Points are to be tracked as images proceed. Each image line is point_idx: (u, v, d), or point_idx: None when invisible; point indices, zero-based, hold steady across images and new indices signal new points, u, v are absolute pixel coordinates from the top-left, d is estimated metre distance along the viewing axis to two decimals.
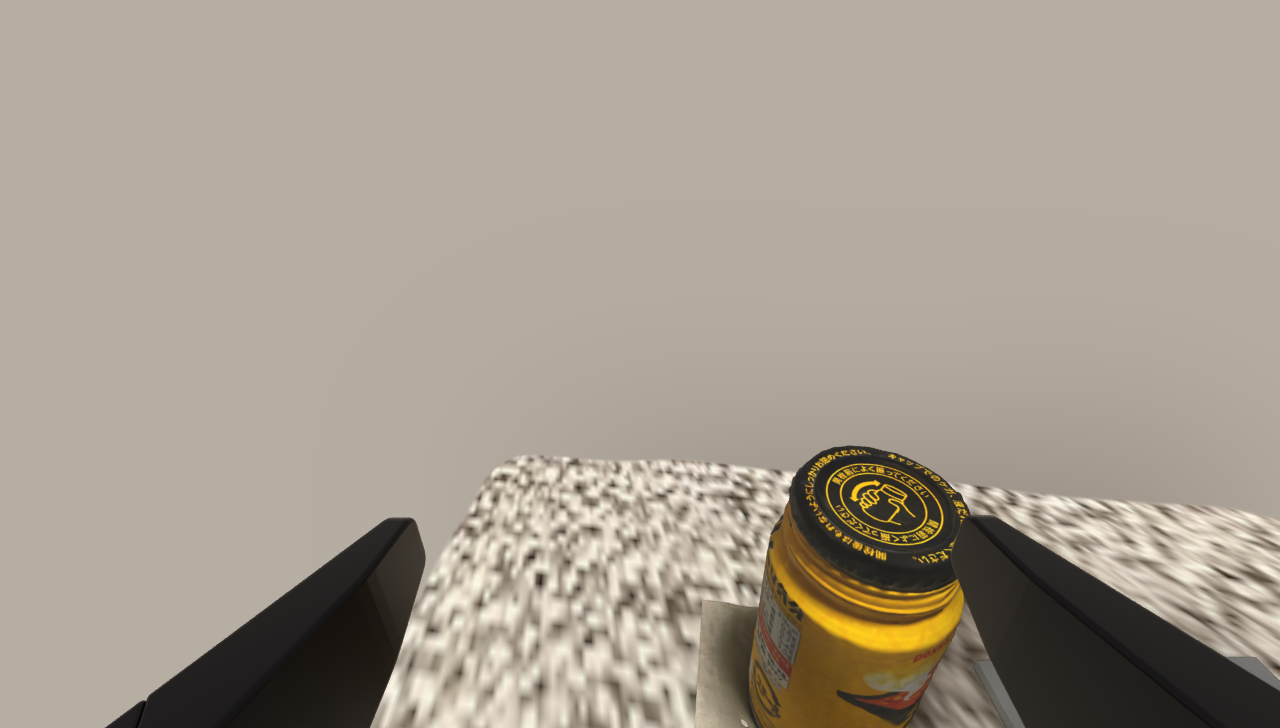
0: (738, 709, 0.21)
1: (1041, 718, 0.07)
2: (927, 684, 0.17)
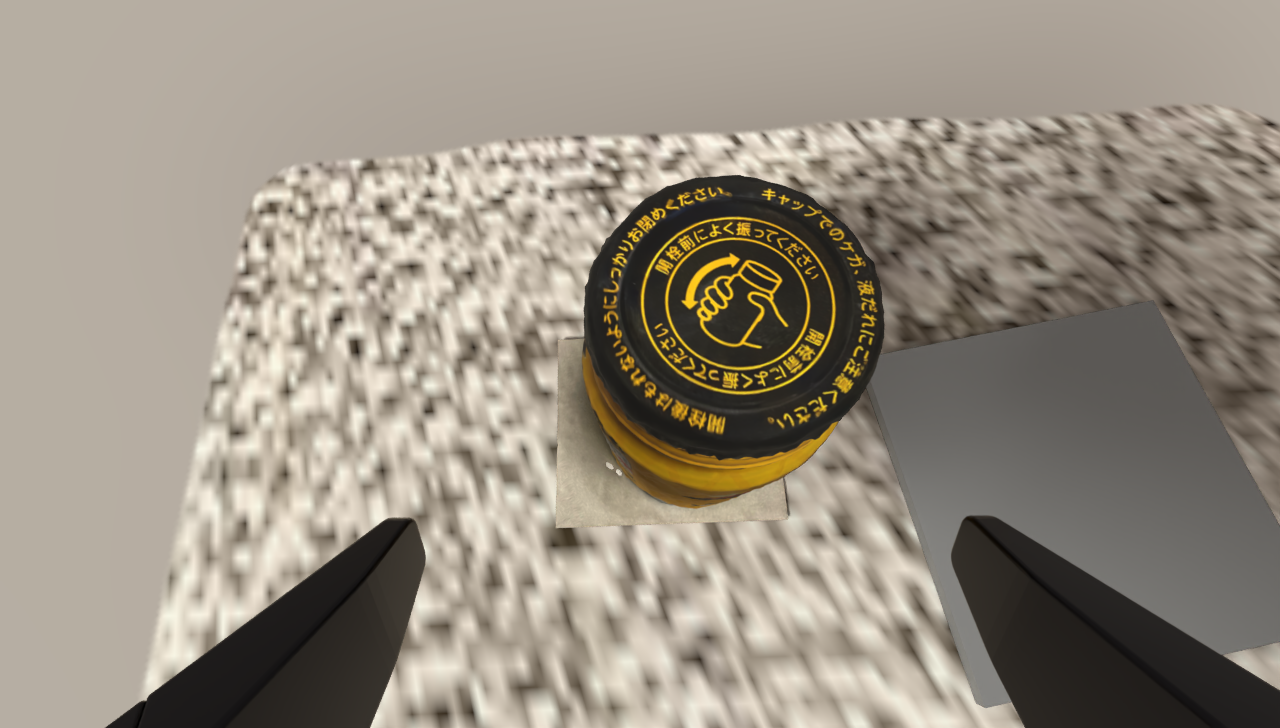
0: (603, 454, 0.20)
1: (1041, 718, 0.07)
2: None
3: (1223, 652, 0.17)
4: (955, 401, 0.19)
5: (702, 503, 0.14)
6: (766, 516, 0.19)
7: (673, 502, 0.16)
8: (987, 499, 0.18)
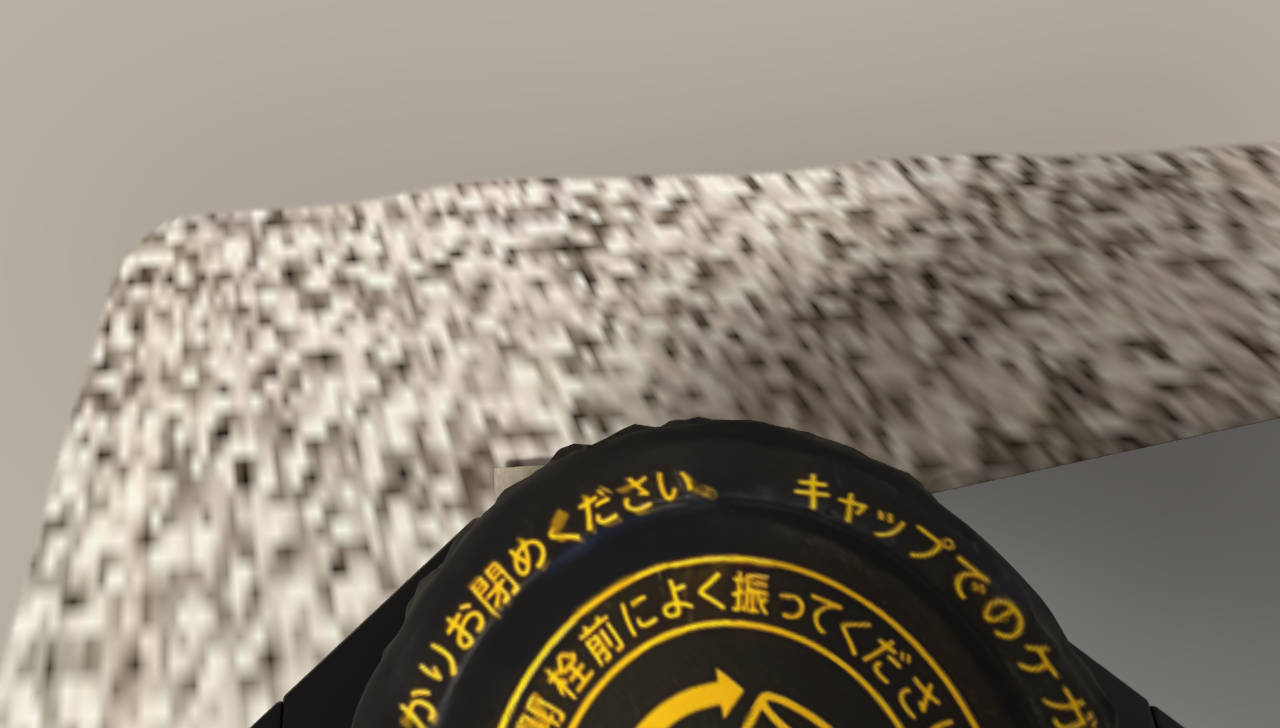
0: None
1: None
2: None
3: None
4: (1065, 559, 0.14)
5: None
6: None
7: None
8: None
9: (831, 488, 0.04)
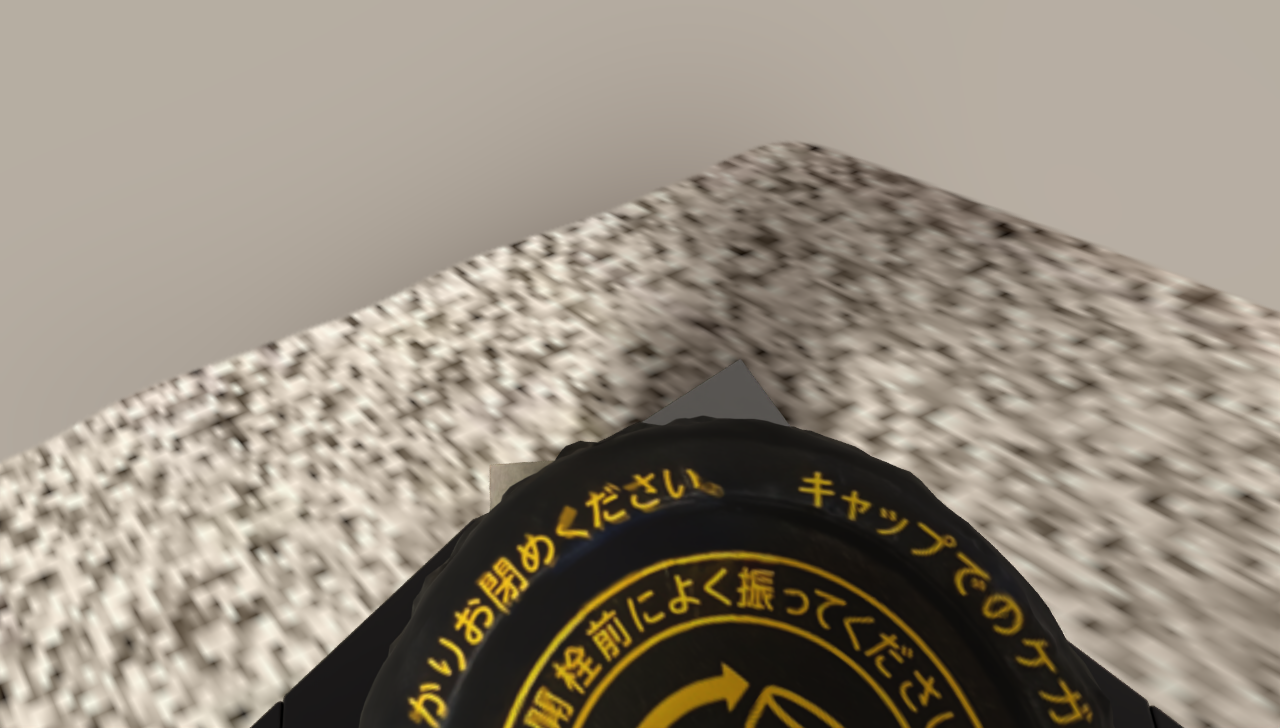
0: None
1: None
2: None
3: None
4: None
5: None
6: None
7: None
8: None
9: (835, 485, 0.04)
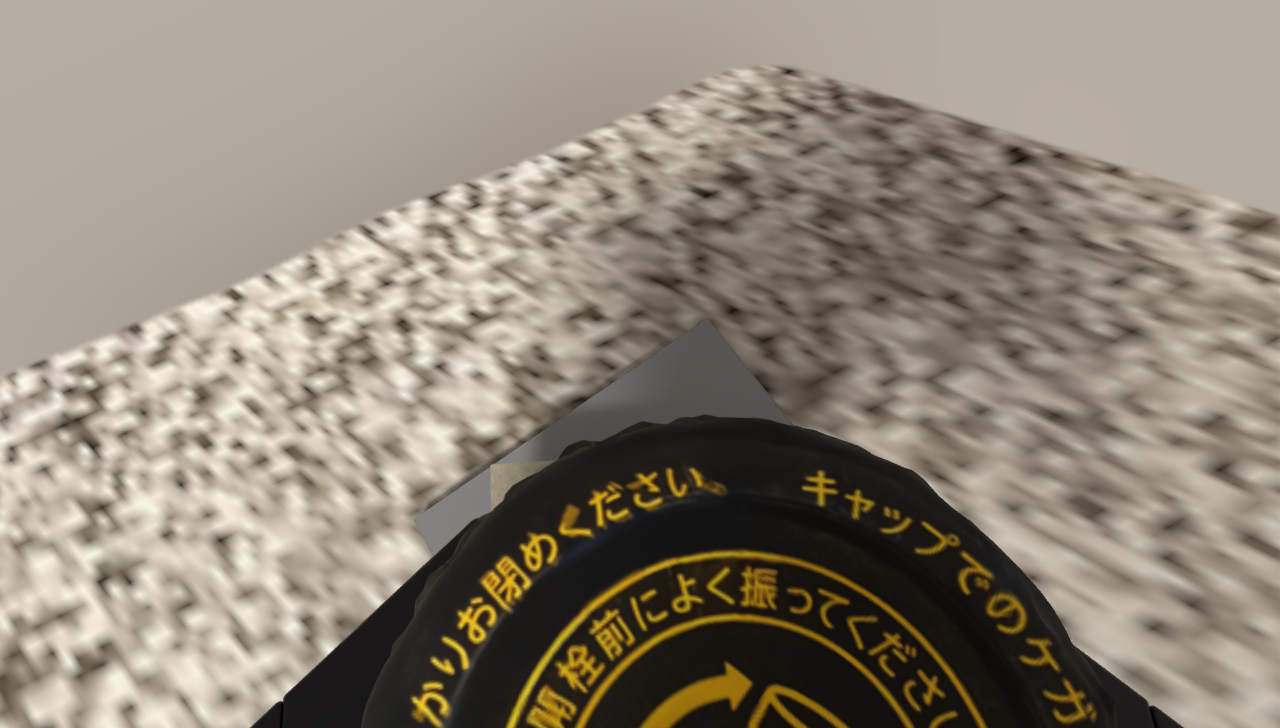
0: None
1: None
2: None
3: None
4: None
5: None
6: None
7: None
8: None
9: (838, 485, 0.04)
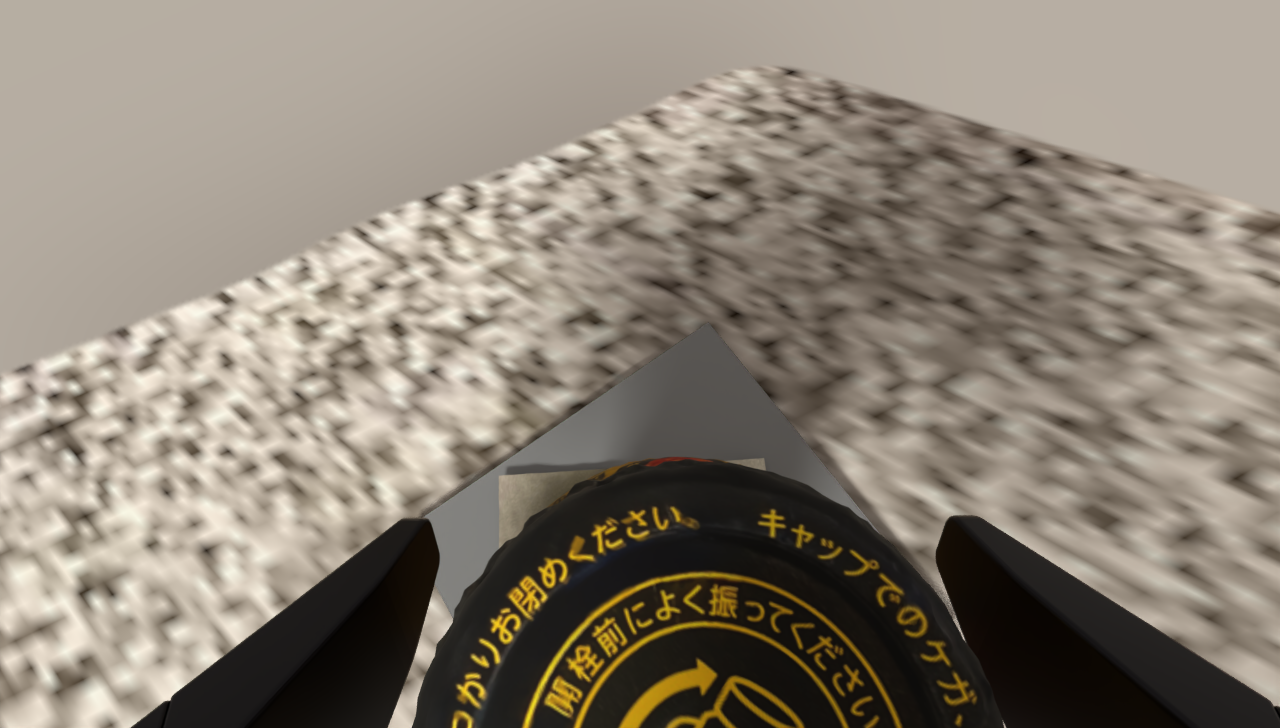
0: None
1: (1022, 718, 0.07)
2: None
3: None
4: None
5: None
6: None
7: None
8: None
9: (786, 520, 0.05)
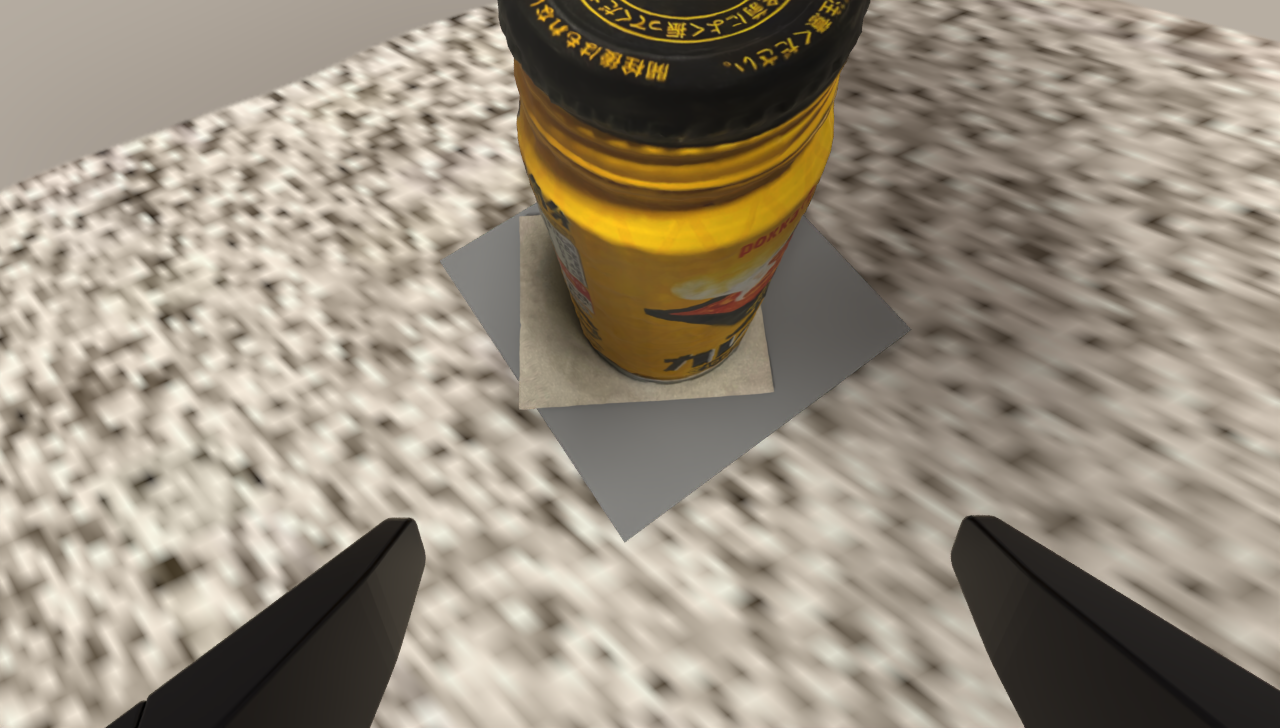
0: (570, 332, 0.18)
1: (1041, 718, 0.07)
2: (772, 273, 0.12)
3: (826, 392, 0.17)
4: None
5: (672, 337, 0.13)
6: (750, 390, 0.17)
7: (642, 352, 0.14)
8: None
9: None
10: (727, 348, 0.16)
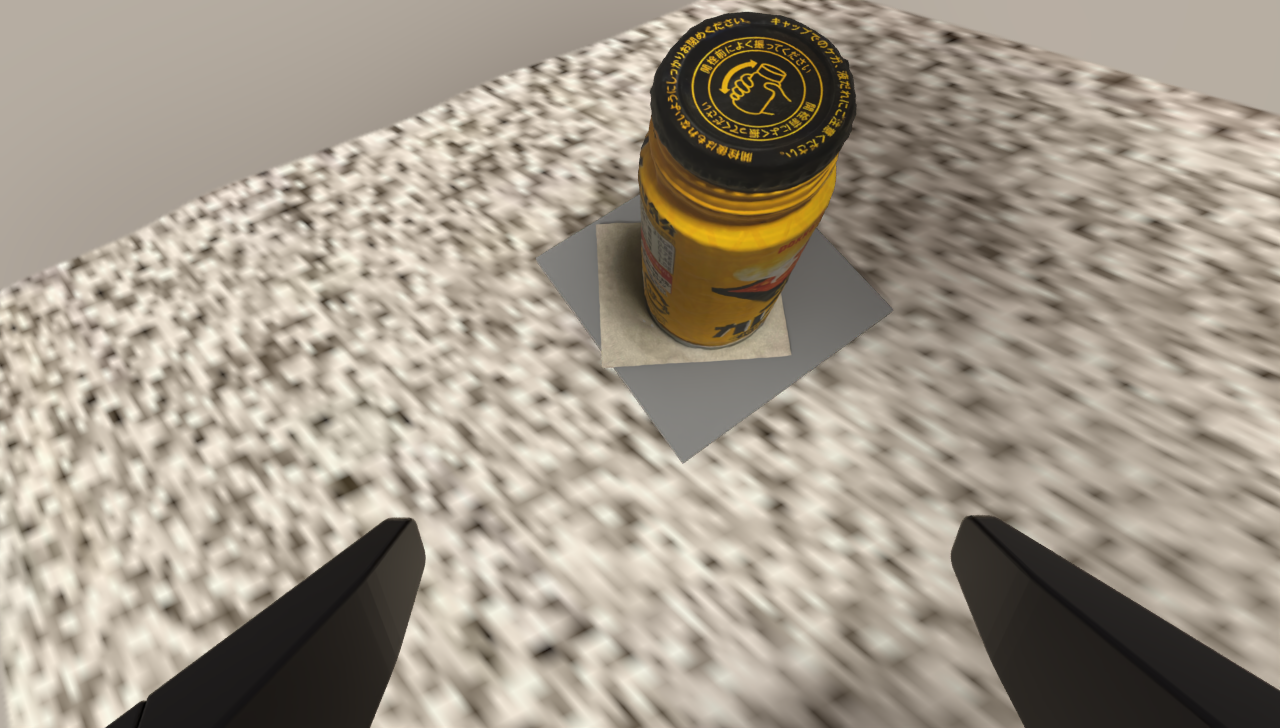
0: (637, 311, 0.24)
1: (1041, 718, 0.07)
2: (794, 265, 0.18)
3: (829, 356, 0.23)
4: None
5: (725, 308, 0.19)
6: (774, 354, 0.23)
7: (701, 321, 0.20)
8: None
9: (780, 20, 0.13)
10: (758, 321, 0.22)
